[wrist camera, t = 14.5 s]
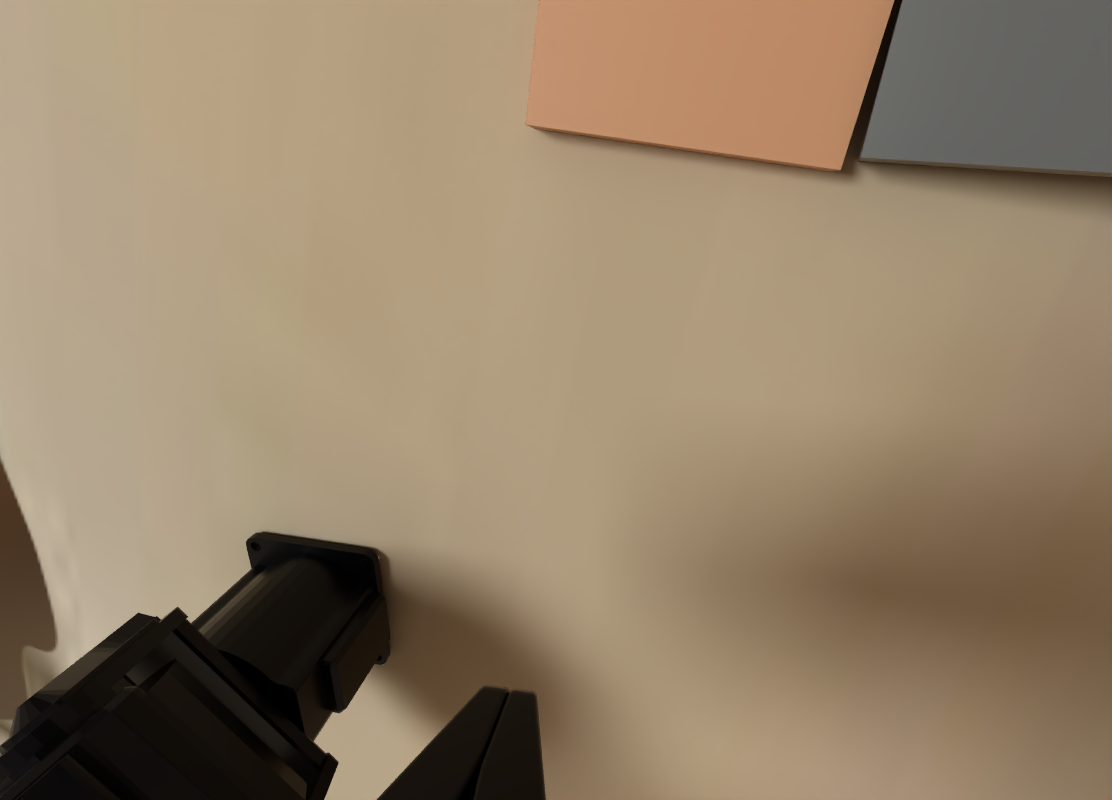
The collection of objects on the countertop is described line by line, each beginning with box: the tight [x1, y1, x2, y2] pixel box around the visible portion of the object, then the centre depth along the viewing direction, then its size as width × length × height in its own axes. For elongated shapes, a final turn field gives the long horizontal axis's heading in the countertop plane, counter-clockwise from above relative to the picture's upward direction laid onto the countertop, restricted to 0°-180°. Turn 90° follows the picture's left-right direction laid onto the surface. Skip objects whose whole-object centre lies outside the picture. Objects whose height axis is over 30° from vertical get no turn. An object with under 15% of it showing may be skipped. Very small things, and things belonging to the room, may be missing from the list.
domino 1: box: [526, 0, 894, 171], centre depth 15 cm, size 2×5×9 cm
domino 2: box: [858, 0, 1112, 177], centre depth 12 cm, size 2×5×9 cm
